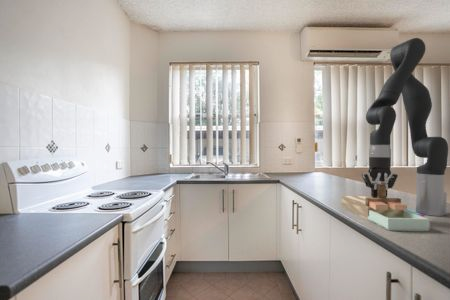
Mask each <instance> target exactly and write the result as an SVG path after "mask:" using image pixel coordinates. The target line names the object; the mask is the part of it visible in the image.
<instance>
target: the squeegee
mask: <svg viewBox="0 0 450 300" xmlns="http://www.w3.org/2000/svg"><path fill="white" fill-rule="evenodd" d="M406 211H408V212H410V213H413V214H416V215H419V216H422V217H425V215H426V214H421V213H418V212H416V210H415V211H414V210H412V209H409V208H407V210H406Z"/></svg>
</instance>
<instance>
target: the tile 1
mask: <svg viewBox="0 0 450 300" xmlns="http://www.w3.org/2000/svg"><path fill="white" fill-rule="evenodd" d="M369 207H371V208H373V209H375V210H388V205H387V204H385V203H383V202H377V201H369Z"/></svg>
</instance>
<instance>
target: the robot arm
mask: <svg viewBox="0 0 450 300" xmlns="http://www.w3.org/2000/svg"><path fill="white" fill-rule="evenodd" d="M425 52H426V44H425V42H424V40H422V38H419V37H414V38H411V39H408V40H406V41H404V42H402V43H399V44H397V45H395V46H394V47H393V48H391V49H390V53H389V57H390V61H391V64H392V68H393V71H394V72H393V73H392V74H391V75H390V76H389V78H388V79H387V80H386V81H385V83H384V84H383V86H382V89H381V90H380V92H379V94H378V97H377V98H376V99H375V100H374V102H373V103H372V104H371V105H370V107H369V108H368V110H367V111H366V114H365V120H366V122H367V123H368V124H369V125H370V126H371V125H372V126H375V125H376V126H377V125H379V126H378V128H377V129H375V130H373V131H371V132H370V133H369V134H370V135H369V150H368V167H369V168H368V170H367V172H365V173H362V174H361V178H362V179H363V182H364V184H365V187H367V188H370V196H372V197H373V198H377V190H376V189H377V185H378V184H382V185H386V198H388V190H389V189H393V187H394V186H395V183H396V181H397V179H398V176H399V175H398V174H396V173H393V172H392V171H391V165H392V161H391V160H392V149H391V135H392V131H393V129H394V125H395V122H396V119H397V112H396V109H394V107H393V106H395V105H396V104H397V103H398V101H399V99H400V96H401V97H402V102H403V105H404V110H405V113H406V117H407V122H408V126H409V132H410V140H411V141H410V143H411V147H412V151H413V154H414V155H415V156H417V157H418V158H423V159H426V162H425V163H424V164H422V165H419V166H417V167H416V194H415V196H416V197H415V199H416V200H415V202H416V203H415V205H416V206H415V212H417V213H420V214H422V215H428V216H433V217H434V216H435V217H442V216H446V215H447V195H448V194H447V192H445V174H446V172H445V171H446V169H447V166H448V157H449V144H448V141H447V140H446V139H445V137H442V136H428V132H427V121H428V119H429V117H430V114H431V111H432V107H433V102H432V98H431V93H430V90H429V89H428V87H427V86H426V85H425V84H424V83H422V82H421V81H420V80H419V79H418V78H416V77H415V76H414V74H413V72H414V70H415V69H416V68H417V66H418V64H419V63H420V62H421V60H422V59H423V57H424V55H425Z"/></svg>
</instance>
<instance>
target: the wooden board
mask: <svg viewBox="0 0 450 300" xmlns="http://www.w3.org/2000/svg"><path fill="white" fill-rule="evenodd" d="M366 198H371V195H369V196H367V195H366V196H365V195H363V196H361V195H359V196H358V195H341V207H342V208H343V209H346V210H348V211H349V212H352V213H354V214H355V215H357V216H359V217H361V218H363V219H365V220H367V221H369V220H368V216H369V210H372V211H374V212H376V213H378V214H381V215H383V216H396V217H403V211H405V210H394V209H391V208H389V207H388V210H375V209H373V208H371V207H369V206H366V205H365V201H366Z"/></svg>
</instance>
